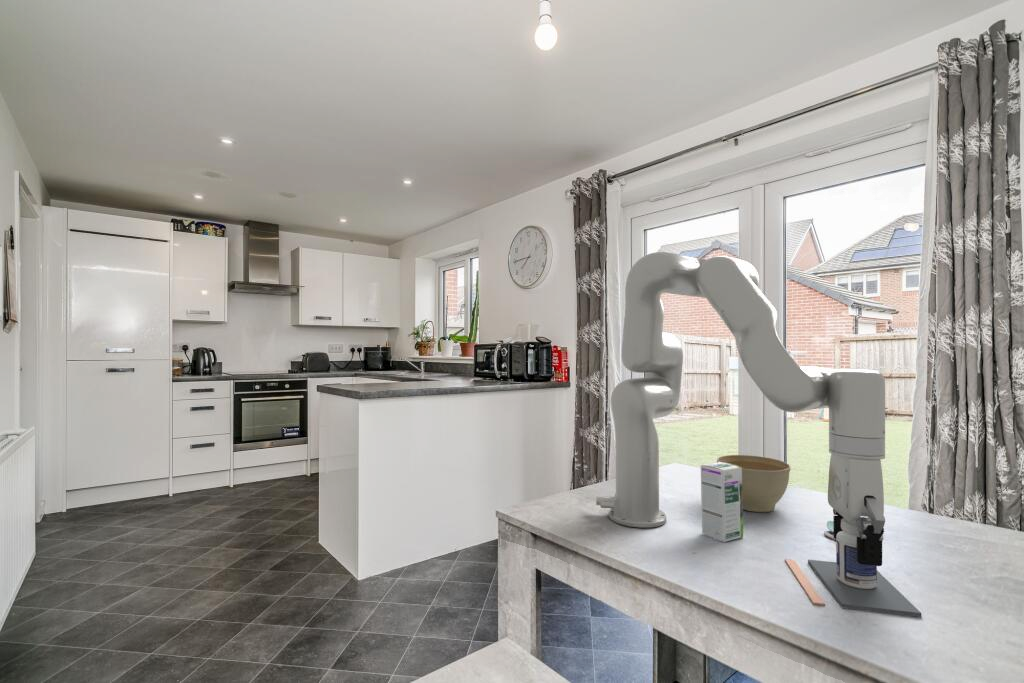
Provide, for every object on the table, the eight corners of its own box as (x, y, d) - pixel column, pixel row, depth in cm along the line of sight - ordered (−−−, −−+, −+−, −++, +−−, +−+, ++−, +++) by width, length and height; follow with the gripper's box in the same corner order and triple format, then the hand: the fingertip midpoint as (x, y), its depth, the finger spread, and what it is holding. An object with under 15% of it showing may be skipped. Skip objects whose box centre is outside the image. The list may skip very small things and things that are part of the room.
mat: (841, 607, 74) (841, 603, 74) (808, 562, 89) (808, 559, 89) (921, 617, 71) (921, 613, 71) (872, 569, 87) (872, 565, 87)
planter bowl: (717, 512, 117) (716, 466, 117) (717, 494, 132) (717, 452, 132) (795, 521, 110) (794, 472, 111) (786, 501, 125) (786, 457, 125)
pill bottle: (885, 588, 79) (885, 526, 79) (857, 592, 77) (856, 529, 78) (855, 573, 84) (854, 515, 84) (828, 576, 83) (828, 517, 83)
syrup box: (724, 543, 98) (723, 469, 99) (700, 533, 104) (700, 463, 104) (743, 538, 101) (743, 466, 101) (719, 528, 106) (719, 460, 106)
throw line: (813, 604, 75) (813, 602, 75) (785, 560, 90) (785, 558, 90) (824, 605, 74) (824, 603, 74) (794, 561, 90) (794, 559, 90)
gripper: (813, 435, 90) (812, 530, 90) (851, 455, 73) (850, 572, 73) (860, 437, 88) (860, 534, 88) (910, 459, 71) (910, 578, 71)
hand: (856, 551), depth 81 cm, fingers open, 9 cm apart
